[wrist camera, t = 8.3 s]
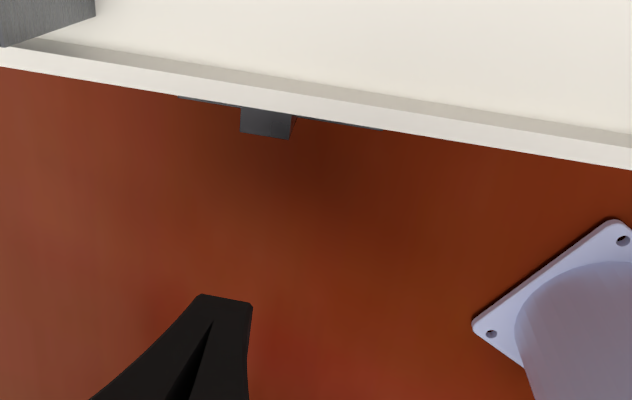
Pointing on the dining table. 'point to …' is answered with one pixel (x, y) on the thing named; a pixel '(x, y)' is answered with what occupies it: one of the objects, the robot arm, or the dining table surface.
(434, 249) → the dining table surface
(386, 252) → the dining table surface
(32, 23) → the grey block
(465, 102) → the beam
